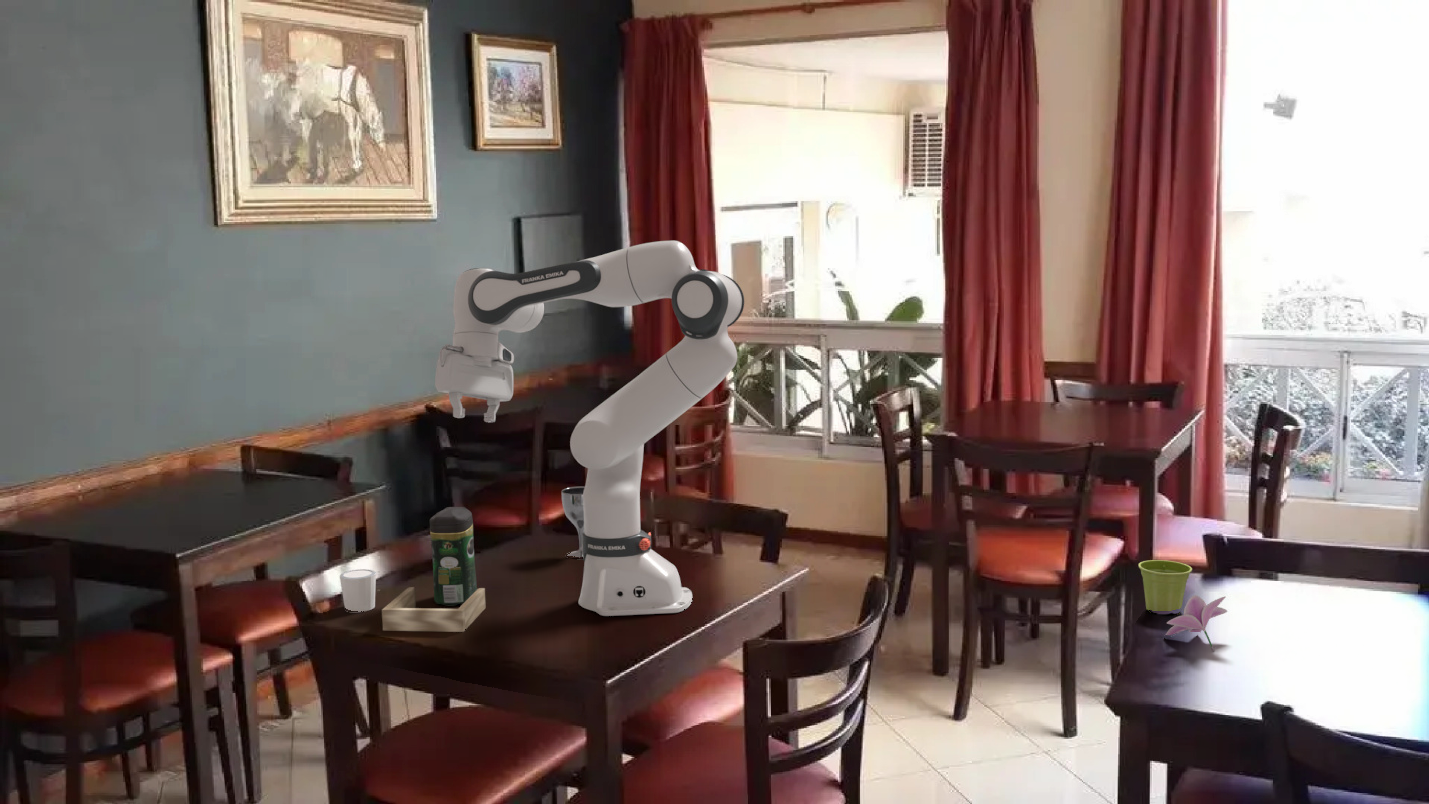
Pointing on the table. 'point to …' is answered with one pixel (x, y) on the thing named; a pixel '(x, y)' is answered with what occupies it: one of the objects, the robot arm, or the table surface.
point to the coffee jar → (453, 556)
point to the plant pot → (1164, 584)
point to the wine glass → (574, 512)
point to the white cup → (358, 589)
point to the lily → (1196, 616)
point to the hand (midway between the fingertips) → (474, 419)
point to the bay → (430, 614)
